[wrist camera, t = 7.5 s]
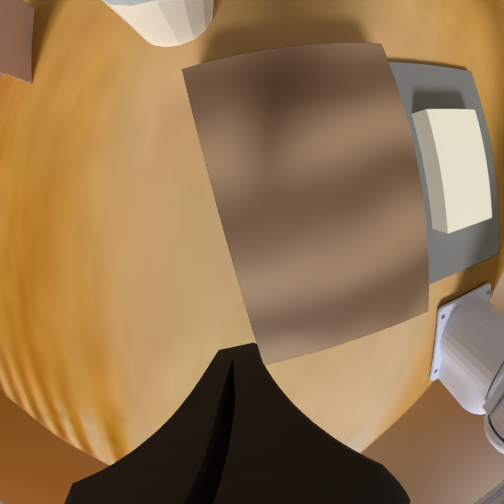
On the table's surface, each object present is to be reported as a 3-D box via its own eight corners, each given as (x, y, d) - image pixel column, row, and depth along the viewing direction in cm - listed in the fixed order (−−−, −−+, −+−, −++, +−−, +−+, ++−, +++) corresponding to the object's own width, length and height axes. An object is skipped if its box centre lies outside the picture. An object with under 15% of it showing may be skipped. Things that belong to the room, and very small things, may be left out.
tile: (447, 233, 16) (432, 228, 18) (492, 217, 16) (477, 213, 18) (426, 109, 14) (411, 113, 16) (475, 109, 14) (460, 112, 16)
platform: (401, 290, 20) (428, 311, 16) (259, 333, 20) (263, 365, 16) (357, 64, 16) (381, 43, 12) (193, 91, 16) (181, 69, 12)
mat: (494, 251, 20) (498, 252, 19) (406, 288, 20) (410, 291, 19) (467, 72, 15) (470, 71, 15) (363, 64, 16) (366, 61, 15)
